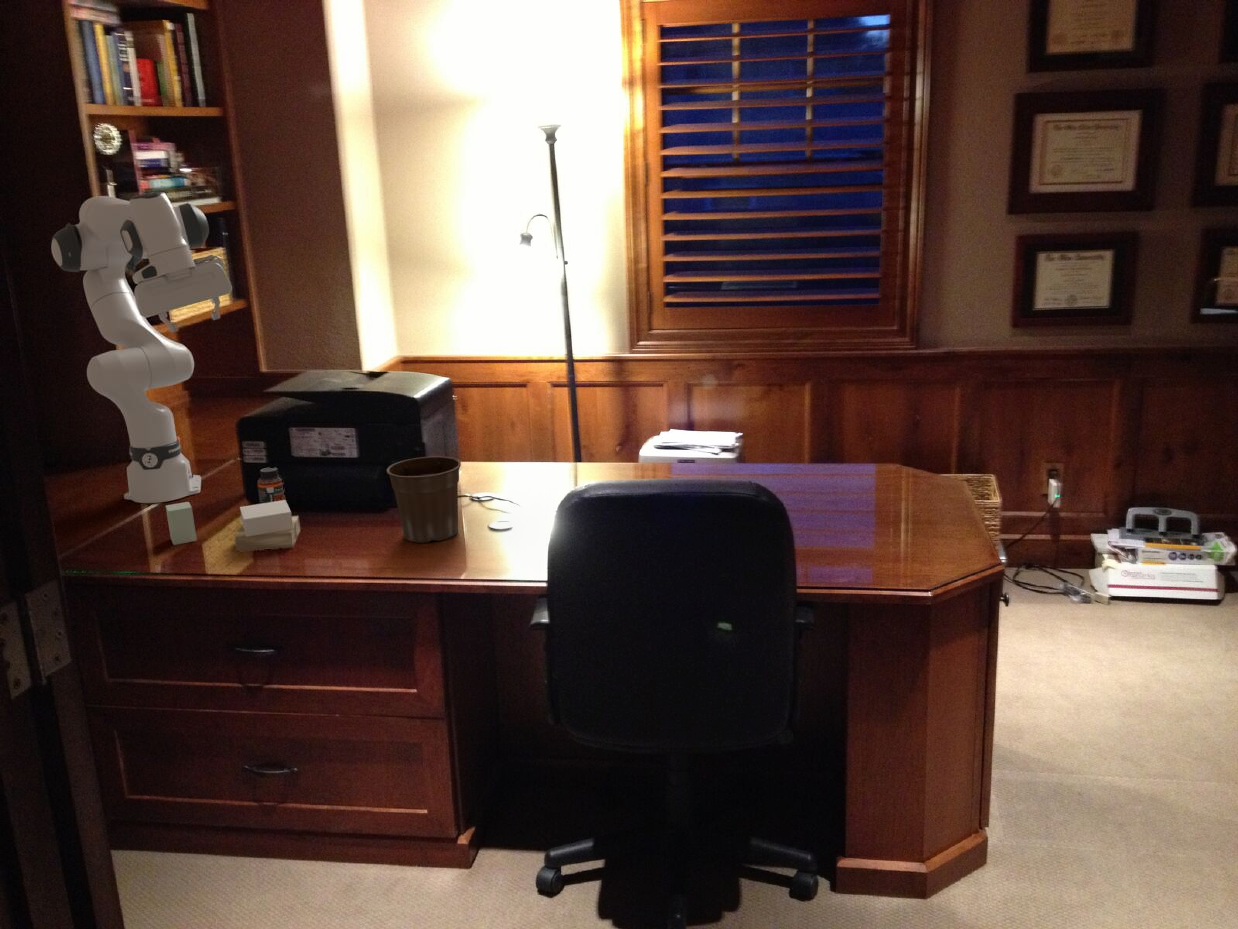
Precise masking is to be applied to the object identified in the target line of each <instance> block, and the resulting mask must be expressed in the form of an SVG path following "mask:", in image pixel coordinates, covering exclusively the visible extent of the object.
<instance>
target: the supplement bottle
mask: <svg viewBox="0 0 1238 929" xmlns="http://www.w3.org/2000/svg"><path fill="white" fill-rule="evenodd" d="M259 472H260V473H259V474H260V477H259V479H258V480H257V490H258V497H259V504H263V503H269V502H275V501H282V500H286V495H284V492H285V488H284V489H283V484H284V482H283V483H282V479H283V478H282V479H281V478H280V477H281V476H280V474H279V471H278V468H277V467H274V468H270V467H265V468H261V469H260V471H259ZM279 476H280V477H279Z"/></svg>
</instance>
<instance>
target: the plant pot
mask: <svg viewBox="0 0 1238 929" xmlns="http://www.w3.org/2000/svg"><path fill="white" fill-rule="evenodd" d="M461 466H462V463H461V461H460V460H459V459H457V458H454V457H448V456H438V455H437V456H423V457H416V458H415V457H414V458H410V459H404V460H400V461H398V462H395V463H393V464H391V465H389V466H388V467H387V469H386V473H387V475H389V479H390V484H391V488H392V489H393V492H394V495H395V499H396V505H397V510H398V514H399V519H400V524H401V529H402V534H403V538H404V539H405V540H407V541H409V542H412V543H418V544H419V543H420V544H422V543H425V544H426V543H427V544H428V543H430V542H431V541H436V542H440V541H441V542H442V541H445V540H449V539H451V538H452V537H454V536H455V535H457V534H458V531H459V499H458V498H459V497H458V496H459V495H458V494H459V493H458V492H459V482H460V468H461Z"/></svg>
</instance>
